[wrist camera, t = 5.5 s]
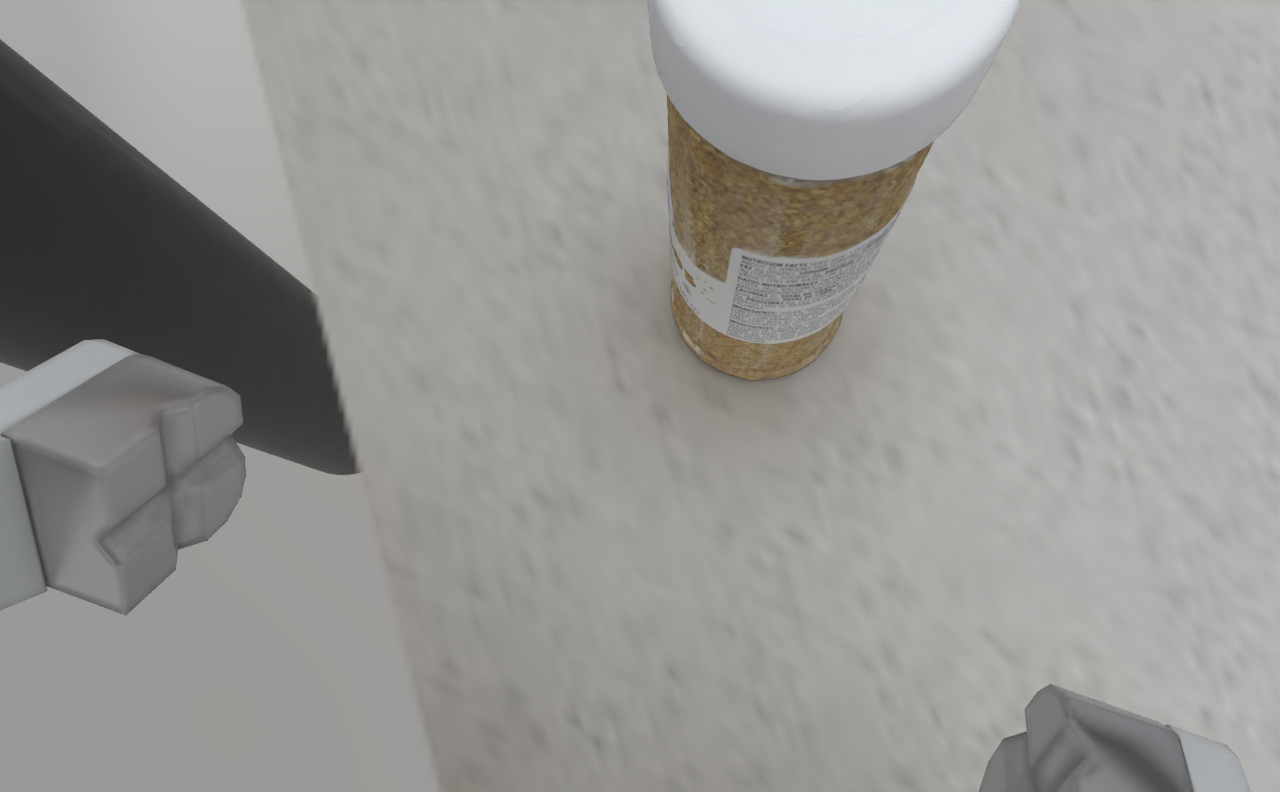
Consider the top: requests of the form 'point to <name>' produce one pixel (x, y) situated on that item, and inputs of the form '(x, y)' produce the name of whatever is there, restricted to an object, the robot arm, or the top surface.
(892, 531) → the top surface
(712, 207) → the sprinkles bottle
